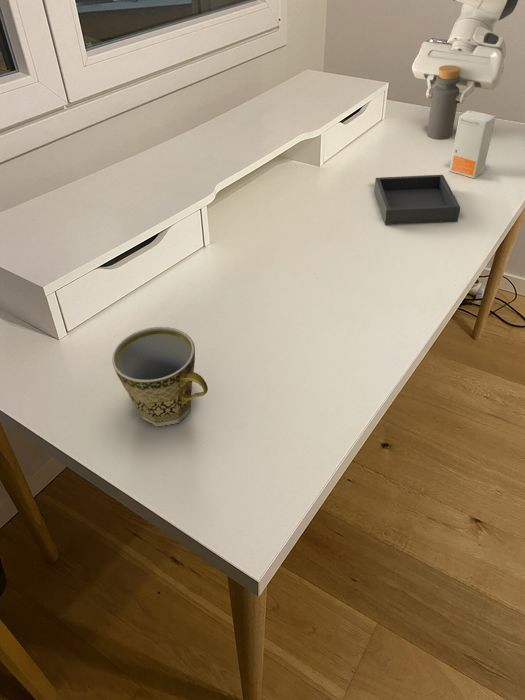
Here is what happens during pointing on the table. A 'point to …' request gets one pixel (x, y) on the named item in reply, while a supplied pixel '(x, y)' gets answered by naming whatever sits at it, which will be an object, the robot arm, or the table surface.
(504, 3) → the robot arm
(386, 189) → the tray
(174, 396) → the ceramic cup
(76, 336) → the table surface
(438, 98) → the bottle
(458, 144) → the cosmetic box
